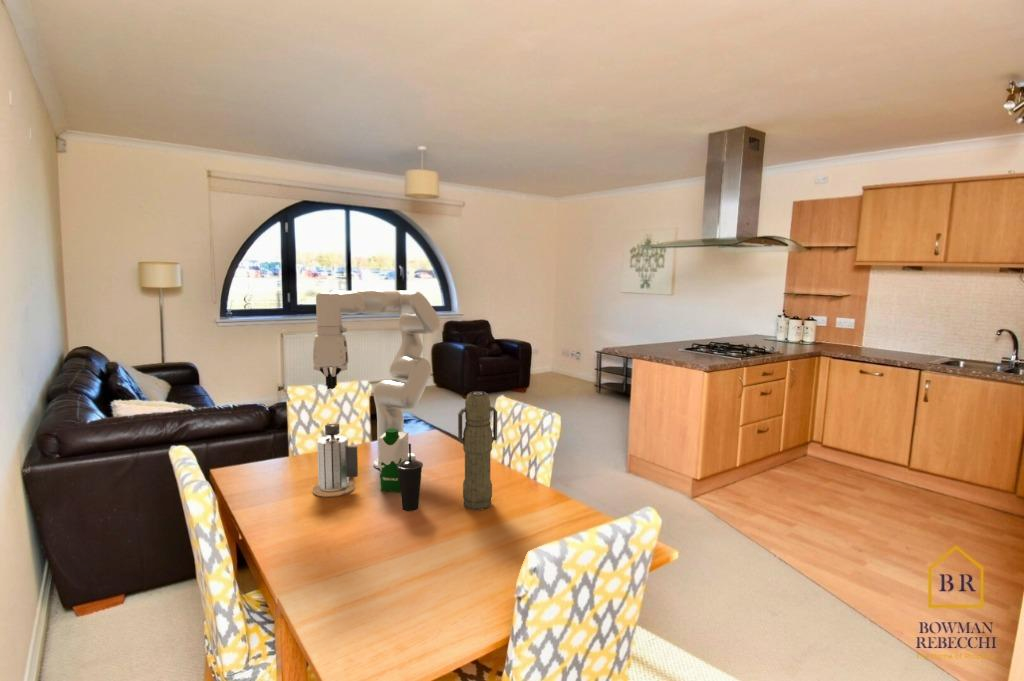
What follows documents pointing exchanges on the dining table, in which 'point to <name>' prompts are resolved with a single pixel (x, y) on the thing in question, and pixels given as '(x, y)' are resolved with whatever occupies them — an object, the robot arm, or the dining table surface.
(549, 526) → the dining table surface
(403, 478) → the drinking cup
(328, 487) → the cafetiere
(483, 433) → the thermos
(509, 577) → the dining table surface
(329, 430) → the plunger
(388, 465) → the milk carton
